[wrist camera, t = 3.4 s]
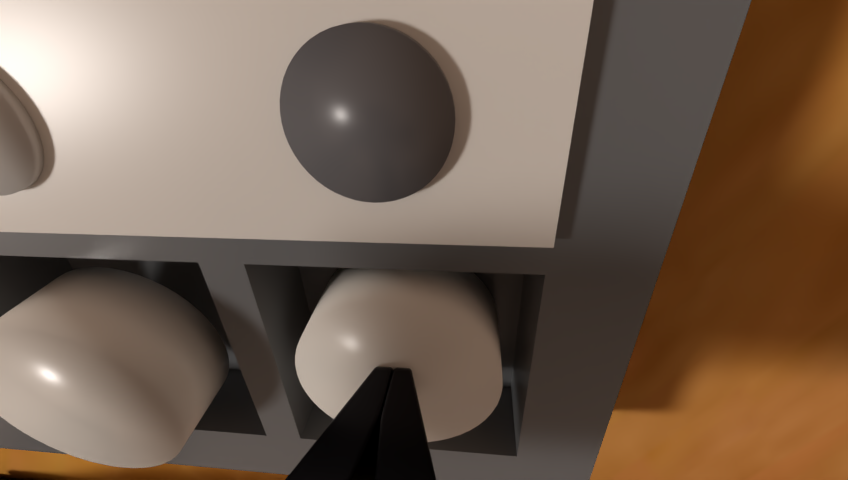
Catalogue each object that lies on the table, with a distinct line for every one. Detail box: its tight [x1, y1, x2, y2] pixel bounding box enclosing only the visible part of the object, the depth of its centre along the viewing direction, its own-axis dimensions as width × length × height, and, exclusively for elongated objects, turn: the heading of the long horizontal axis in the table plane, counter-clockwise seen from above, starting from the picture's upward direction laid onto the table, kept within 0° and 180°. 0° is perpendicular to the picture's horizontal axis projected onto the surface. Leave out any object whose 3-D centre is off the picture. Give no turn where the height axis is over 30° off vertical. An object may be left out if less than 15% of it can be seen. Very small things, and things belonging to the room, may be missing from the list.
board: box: [0, 0, 751, 480], centre depth 10 cm, size 14×24×4 cm, turn 92°
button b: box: [0, 267, 229, 468], centre depth 10 cm, size 5×5×2 cm
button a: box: [295, 268, 503, 442], centre depth 10 cm, size 5×5×2 cm
